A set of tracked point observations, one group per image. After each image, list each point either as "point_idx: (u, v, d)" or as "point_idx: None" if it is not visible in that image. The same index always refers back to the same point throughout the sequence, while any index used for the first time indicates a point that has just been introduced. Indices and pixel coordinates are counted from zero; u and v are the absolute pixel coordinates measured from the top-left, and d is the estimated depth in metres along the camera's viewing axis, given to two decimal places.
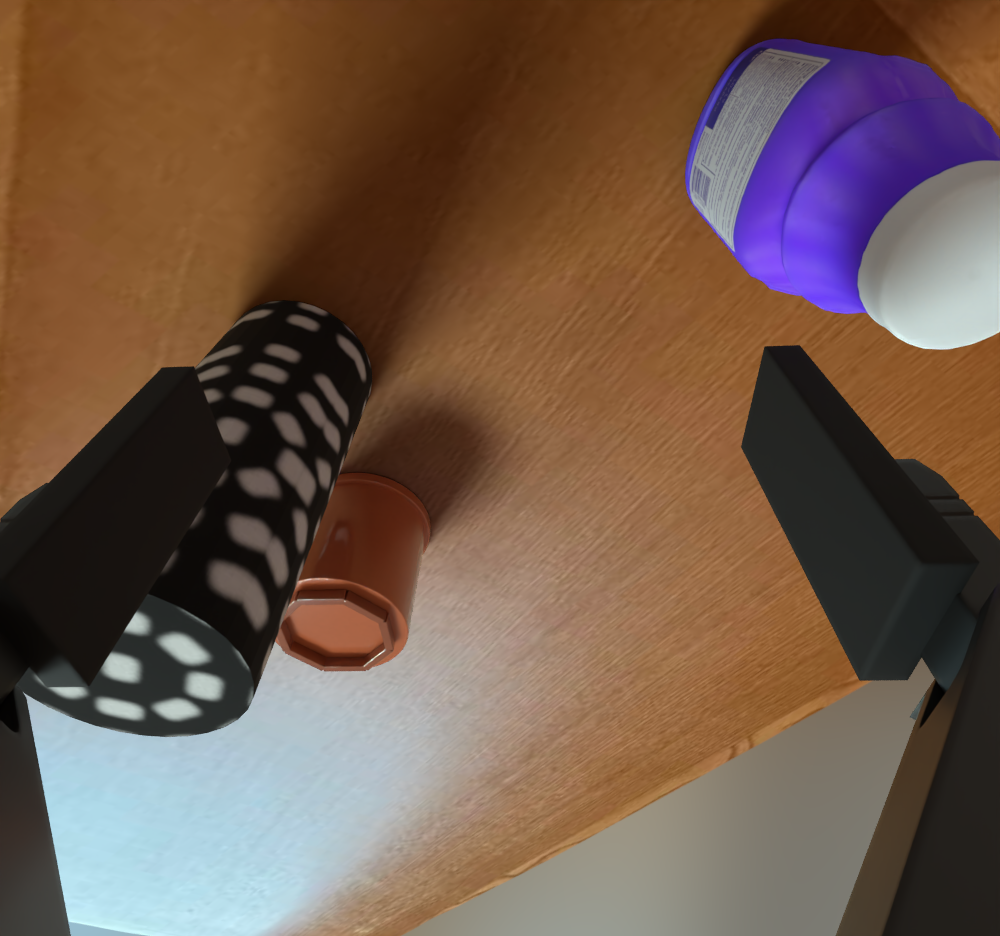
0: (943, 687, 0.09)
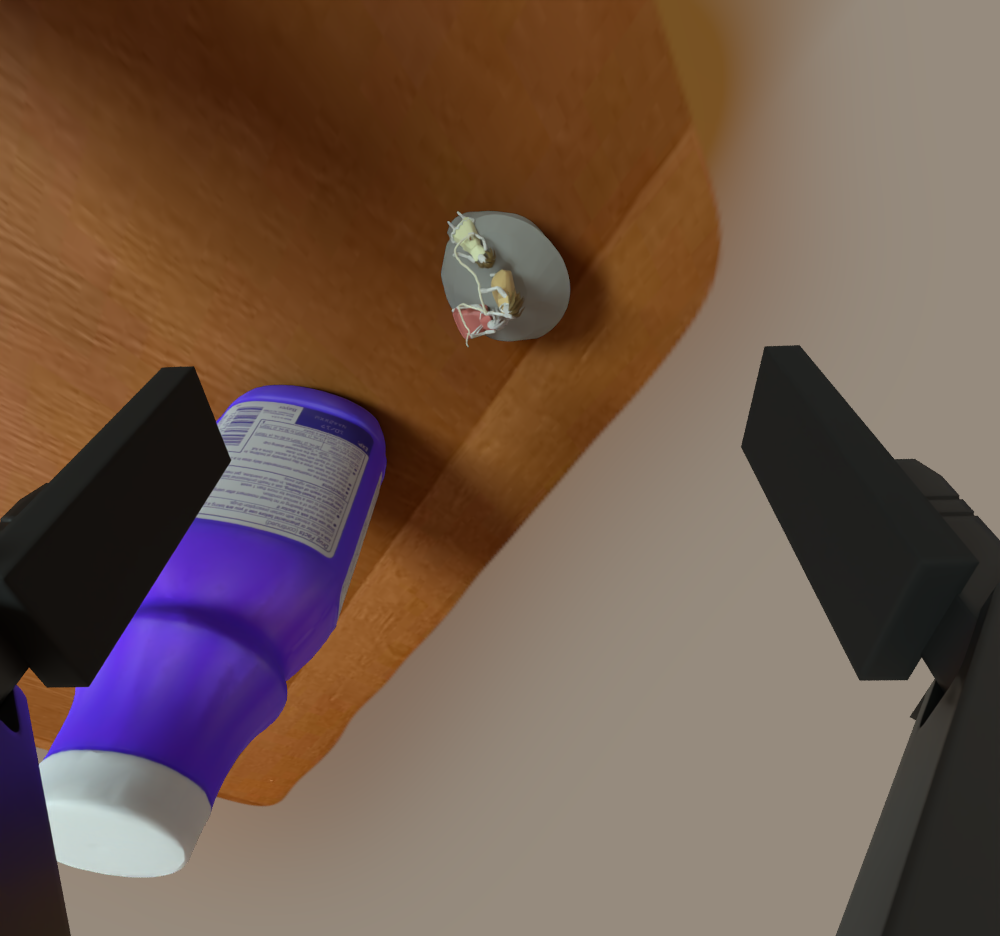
0: (943, 687, 0.09)
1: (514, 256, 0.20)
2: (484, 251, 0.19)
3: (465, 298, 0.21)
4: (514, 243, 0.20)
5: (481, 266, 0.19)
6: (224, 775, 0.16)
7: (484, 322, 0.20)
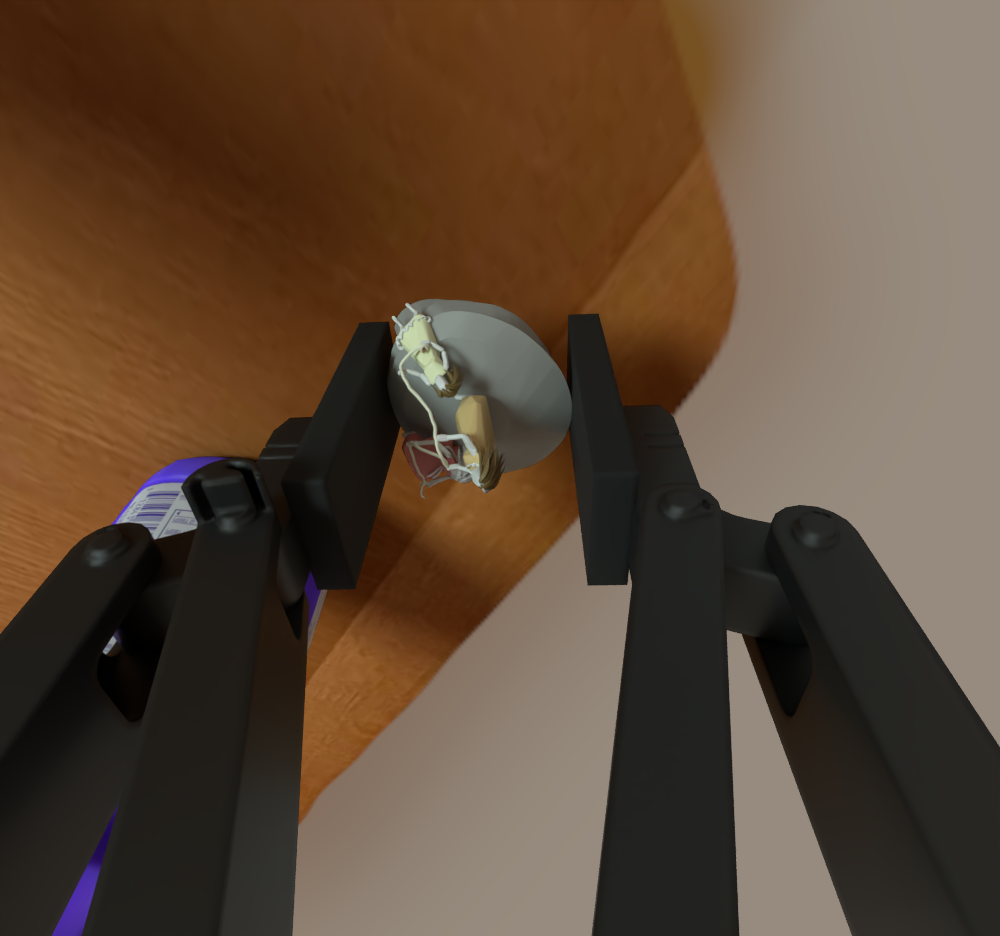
0: None
1: (490, 372, 0.14)
2: (444, 370, 0.13)
3: (420, 423, 0.15)
4: (490, 353, 0.13)
5: (440, 394, 0.13)
6: None
7: None
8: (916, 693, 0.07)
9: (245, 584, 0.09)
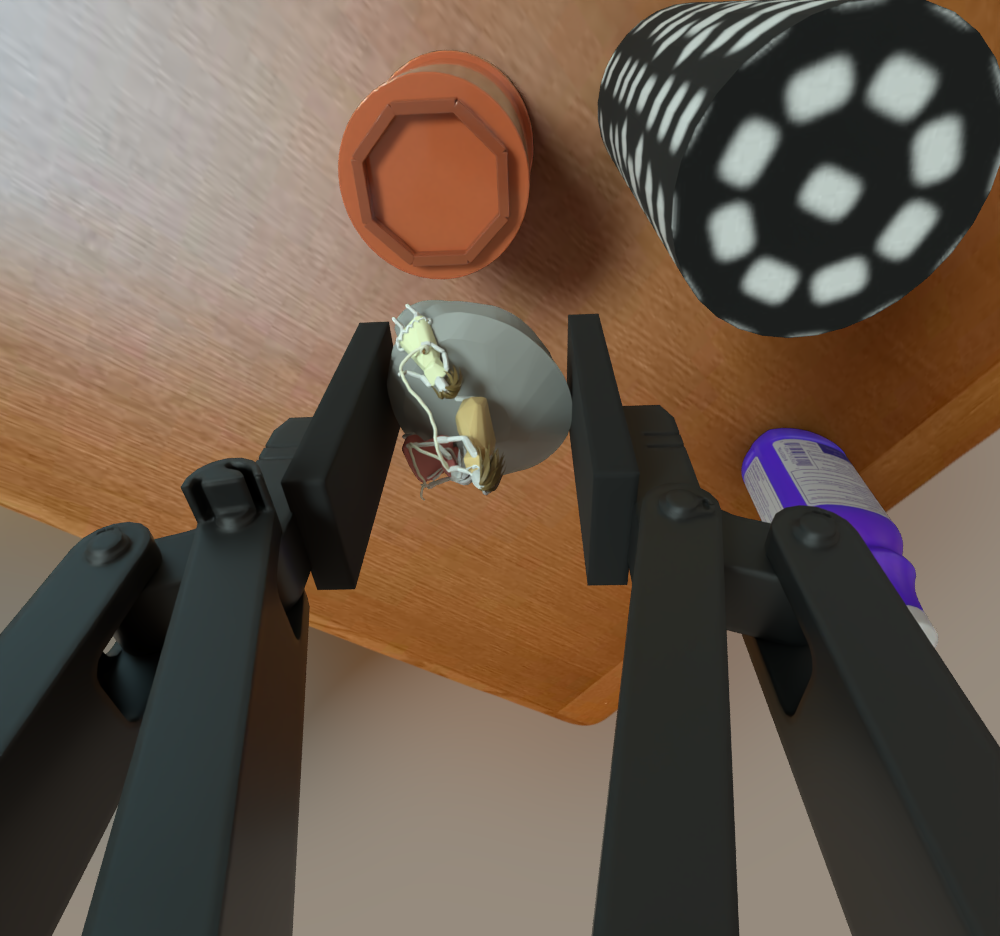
0: None
1: (491, 373, 0.14)
2: (445, 372, 0.13)
3: (420, 424, 0.15)
4: (491, 355, 0.13)
5: (440, 396, 0.13)
6: None
7: None
8: (915, 692, 0.07)
9: (245, 584, 0.09)
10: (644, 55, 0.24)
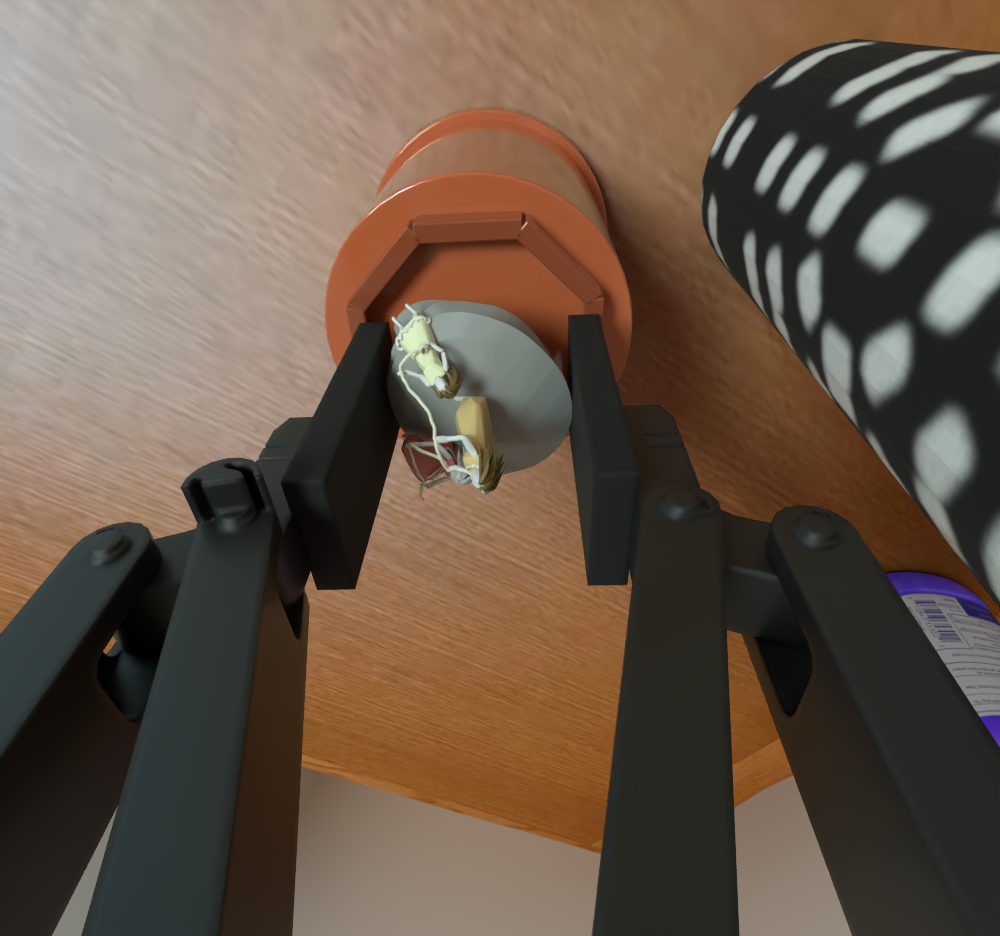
0: None
1: (490, 373, 0.14)
2: (444, 371, 0.13)
3: (420, 424, 0.15)
4: (490, 354, 0.13)
5: (439, 396, 0.13)
6: None
7: None
8: (916, 693, 0.07)
9: (245, 584, 0.09)
10: (842, 142, 0.14)
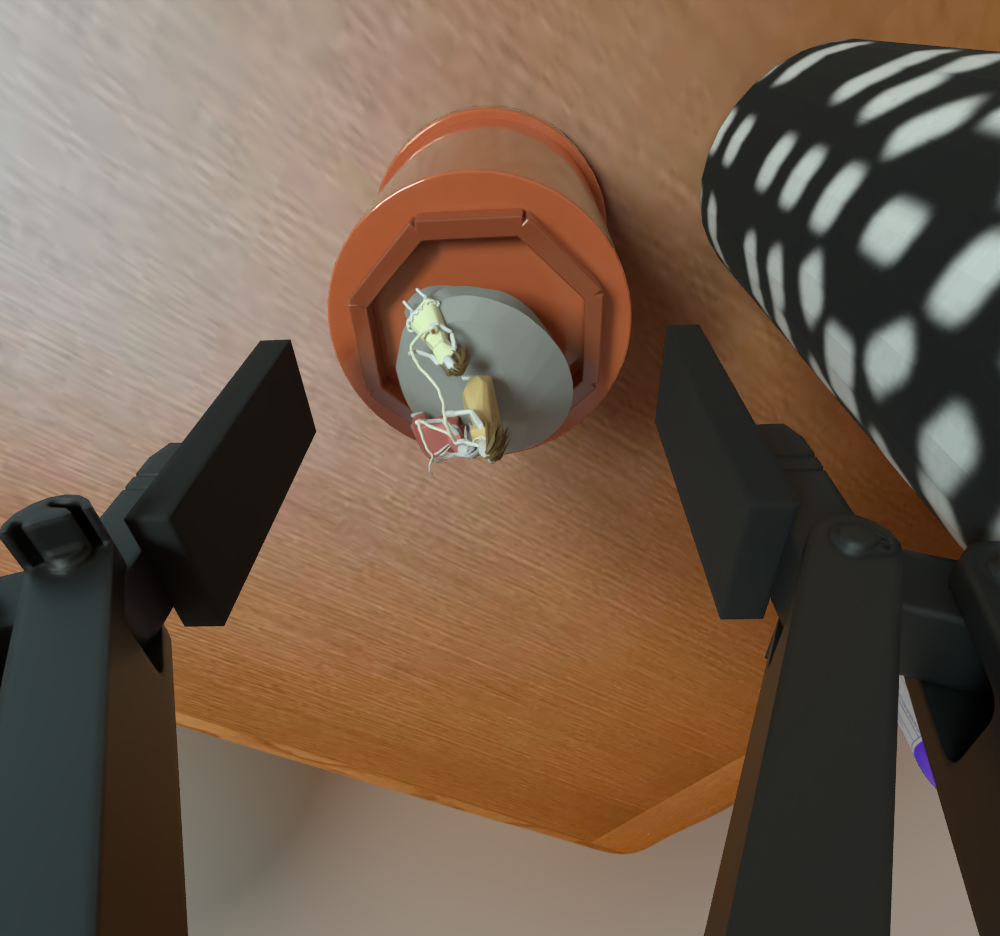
0: (784, 626, 0.10)
1: (496, 353, 0.14)
2: (452, 351, 0.14)
3: (428, 403, 0.15)
4: (496, 336, 0.14)
5: (448, 373, 0.13)
6: None
7: (453, 444, 0.15)
8: None
9: (87, 622, 0.08)
10: (842, 141, 0.14)
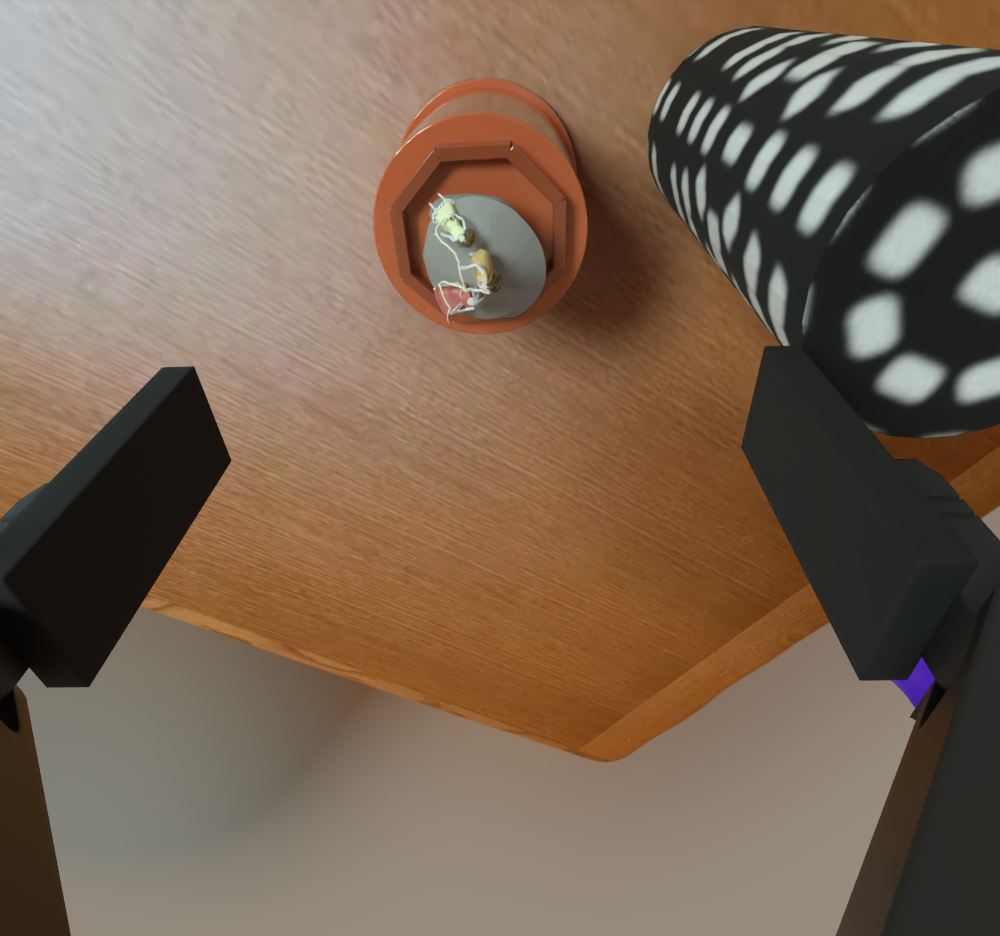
0: (943, 686, 0.09)
1: (492, 236, 0.21)
2: (464, 231, 0.20)
3: (446, 277, 0.22)
4: (492, 224, 0.21)
5: (461, 245, 0.20)
6: None
7: (464, 299, 0.21)
8: None
9: None
10: (722, 93, 0.21)
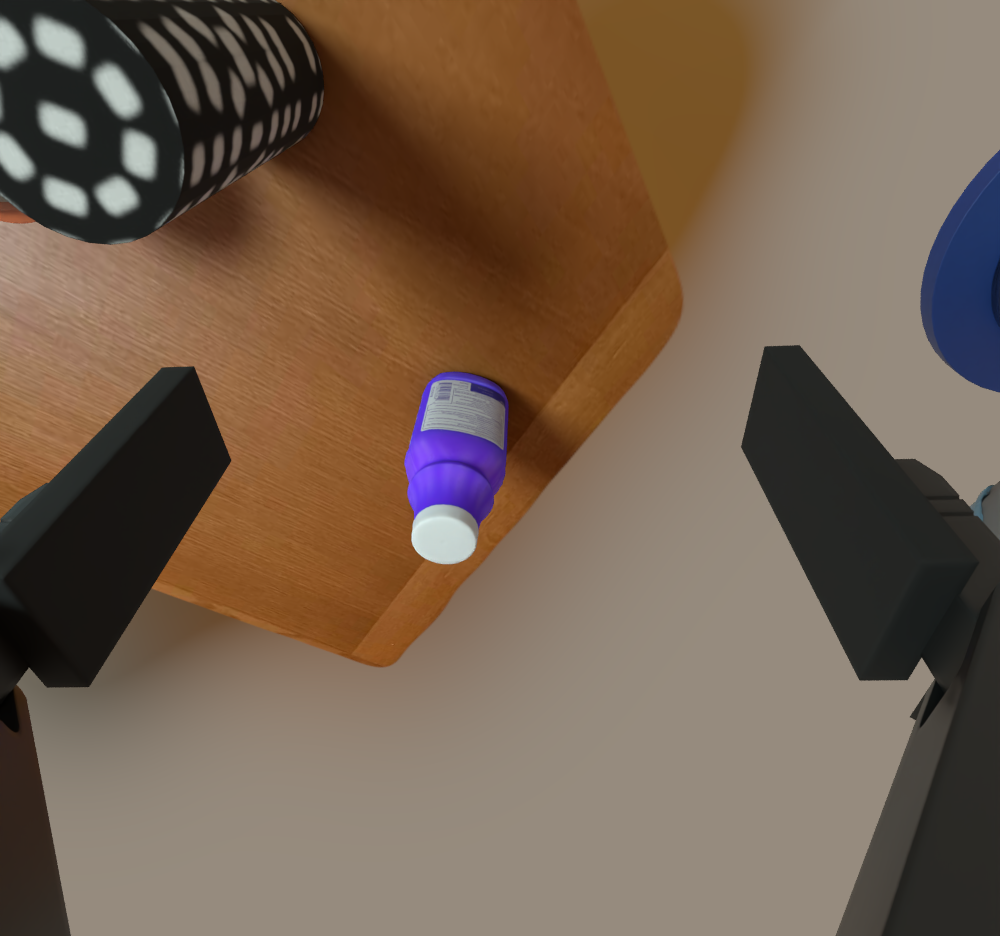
0: (943, 687, 0.09)
1: None
2: None
3: None
4: None
5: None
6: None
7: None
8: None
9: None
10: None
